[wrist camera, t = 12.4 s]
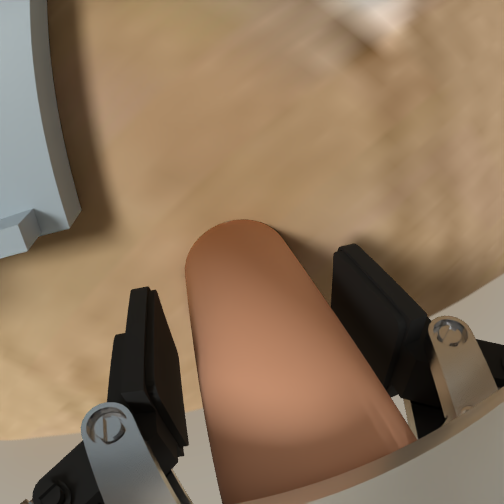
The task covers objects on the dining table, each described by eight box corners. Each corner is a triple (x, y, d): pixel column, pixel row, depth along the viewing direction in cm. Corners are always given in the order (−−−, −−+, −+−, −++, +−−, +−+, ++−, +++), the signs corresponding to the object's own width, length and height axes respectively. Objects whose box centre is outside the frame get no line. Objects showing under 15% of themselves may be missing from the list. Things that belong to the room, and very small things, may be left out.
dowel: (286, 210, 11) (537, 547, 1) (290, 299, 13) (438, 575, 3) (174, 232, 11) (259, 683, 1) (196, 320, 13) (274, 638, 3)
